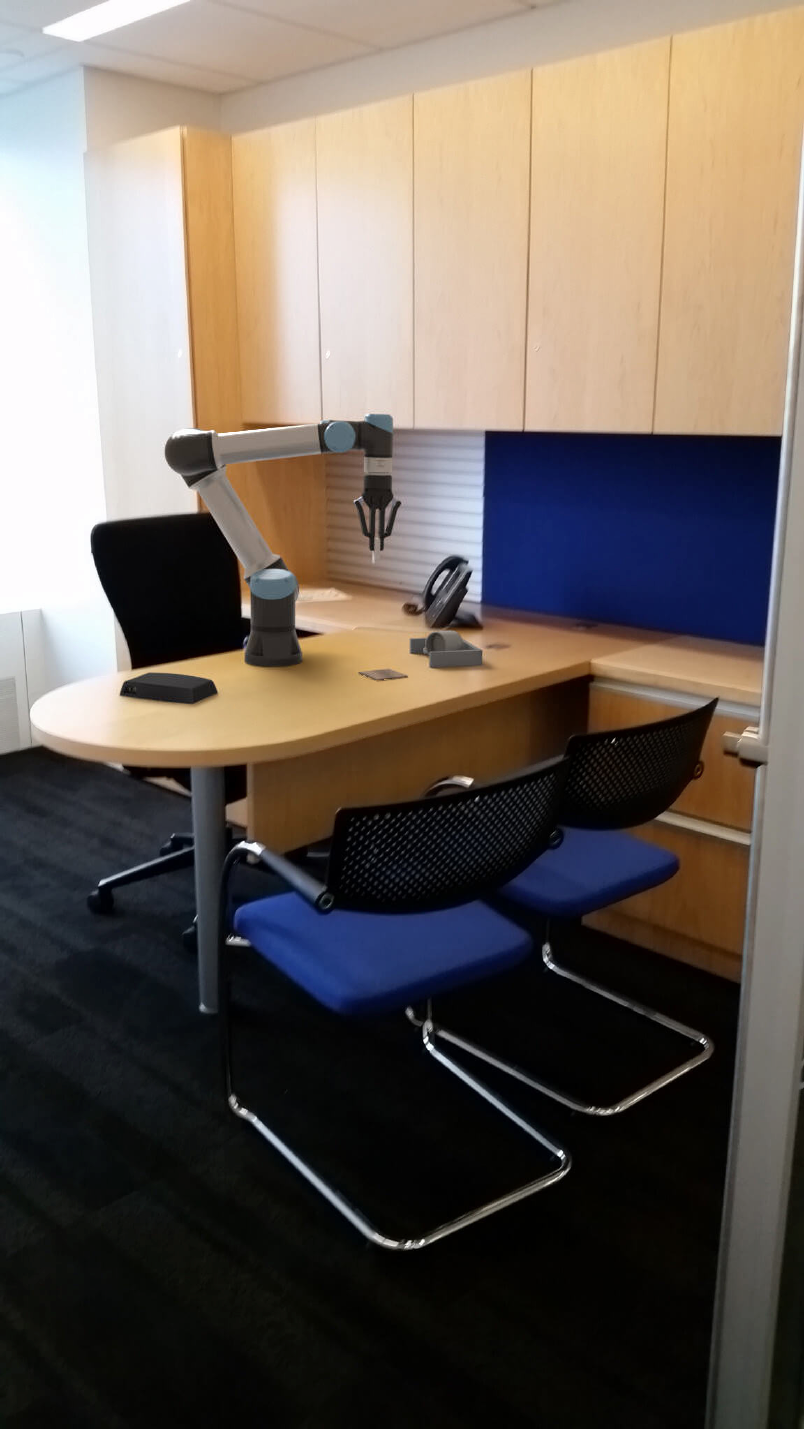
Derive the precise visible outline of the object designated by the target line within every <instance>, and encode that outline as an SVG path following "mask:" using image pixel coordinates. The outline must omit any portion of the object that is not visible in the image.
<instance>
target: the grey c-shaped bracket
mask: <svg viewBox="0 0 804 1429" xmlns="http://www.w3.org/2000/svg"><path fill="white" fill-rule="evenodd" d="M426 639H427V637H411V638H409V653H410V654H424V652H423V648H425V642H426ZM462 640H463V649H462V650H458V651H433V652H429V655H428V658H429V660H428V666H429V667H428V668H451V667H453V668H454V667H476V666H479V667H480V666H483V650H482V649H481V648H479V647H477V646H476V645H474V644H472V643H470V642H469V641H467V640H465V639H463V638H462Z"/></svg>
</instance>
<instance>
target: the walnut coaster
mask: <svg viewBox="0 0 804 1429" xmlns="http://www.w3.org/2000/svg"><path fill="white" fill-rule="evenodd" d="M357 673H360V674H361V675H360V674H359V675H360V676H363V675H365V676H366V678H368V677H370V678H372V679H371V680H373V679H375V680H382V681H385V680H384V679H390V680H395V679H397V678H398V679H404V678H405V677H406V678H408V674H405V673H401V672H399V671H396V670H394V669H391V668H382V669H374V670H366V671H365V670H364V671H358V672H357ZM365 676H364V677H365ZM403 677H404V678H403ZM370 678H369V679H370ZM406 678H405V679H406ZM375 680H374V681H375Z"/></svg>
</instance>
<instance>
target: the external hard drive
mask: <svg viewBox="0 0 804 1429" xmlns="http://www.w3.org/2000/svg"><path fill="white" fill-rule="evenodd" d="M217 694H219V692H218V689H217V686H216V684H215V682H214V680H212V679H211V678H210V679H209V678H206V677H201V676H195V675H189V674H183V673H182V674H181V673H173V672H147V673H144V674H141V675H139V676H136V677H133V678H130V679H128V680H124V681H123V683H122V685H121V688H120V691H119V696H122V697H127V698H133V699H140V700H148V701H154V702H164V703H165V702H166V703H174V704H175V703H176V704H184V705H185V704H186V705H194V704H197V703H198V702H201V701H203V700H206V699H207V698H210V697H212V696H214V695H217Z"/></svg>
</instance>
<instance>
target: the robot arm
mask: <svg viewBox="0 0 804 1429" xmlns="http://www.w3.org/2000/svg"><path fill="white" fill-rule="evenodd" d="M393 445H394V419H393V416H392V415H391V414H387V413H385V414H384V413H367V414H365V416H364V420H360V421H355V420H334V419H329V420H328V419H327V420H320V422H319V423H308V424H302V425H301V424H300V425H292V426H283V427H281V426H280V427H272V428H265V429H264V428H263V429H252V430H245V431H236V432H226V433H225V432H224V433H218V432H217V431H215V430H204V429H201V428H197V427H188V428H185V429H181V430H178V431H176V432H173V434H171V436H169V438H168V439H167V441H166V443H165V446H164V458H165V461H166V462H167V465H168V466H169V468H170V469H171V470H172V471H174V472H175V473H176V474H179V475H180V476H181V478H182V479H183V481H184V482H185V485H186V486H187V487H188V489H189V490H193V491H196V492H198V495H199V496H200V498H201V499H202V501H203V503H204V504H205V506H206V508H207V510H208V511H209V513H210V514H211V516H212V517H213V519H214V521H215V522H216V524H217V526H218V528H219V529H220V531H221V533H222V534H223V537H225V539H226V541H227V543H228V544H229V545H230V547H231V549H232V550H233V552H234V554H235V556H236V557H237V559H238V561H239V562H240V564H241V565H242V568H244V574H243V577H242V578H243V580H244V581H245V583H246V585H247V586H248V587H249V589H250V595H249V596H250V634H249V636H248V641H247V643H246V646H245V649H244V662H245V663H246V664H249V665H253V666H260V667H286V666H287V667H288V666H293V665H297V664H301V662H302V661H303V651H302V648H301V646H300V645H301V644H300V642H299V639H298V636H297V632H296V602H297V601H298V598H299V593H300V586H299V581H298V579H297V577H296V575H295V574H294V573H293V572H292V571H291V570H289V568H288V566H287V565H286V562H285V561H284V560H283V558H282V556H281V555H280V554H279V555H278V554H275V553H273V552H272V550H271V549H270V547H269V545H268V544H267V542H266V540H265V538H264V537H263V536H262V534H261V532H260V531H259V529H258V527H257V525H256V523H255V522H254V521H253V519H252V517H251V515H250V514H249V512H248V510H247V509H246V507H245V505H244V504H243V502H242V500H241V499H240V497H239V495H238V494H237V492H236V490H235V489H234V488H233V485H232V484H231V482H230V480H229V479H228V476H227V475H226V472H227V465H231V464H232V465H233V464H242V463H251V462H259V461H267V460H268V461H269V460H278V459H287V458H295V457H305V456H313V455H314V456H315V455H321V454H324V455H325V454H333V453H337V454H341V453H346V452H348V451H363V454H364V455H363V472H364V475H363V490H362V493H361V496H360V497H359V498H357V499H354V500H353V505H354V506H355V508H356V509H357V510H356V511H357V515H358V519H359V524H360V529H361V534H362V536H364V537H365V538H366V537H367V538H368V549H369V551H371V552H372V557H371V558H372V564H374V565H375V564H380V563H381V552H382V551H384V549H385V548H384V547H385V539H387V538H388V537H391V536H392V531H393V528H394V525H395V520H396V516H397V513H398V510H399V508H400V507H401V505H402V502H401V501H400V500H398V499H396V498H395V497H394V494H393V490H392V489H393V476H392V475H391V474H392V473H393V454H394V453H393V448H394V446H393ZM364 503H365V505H366V506H367V508H368V514H369V515H368V517H369V518H368V519H369V520H368V525H367V522H366V516H365V512H364V508H363V507H364ZM390 503H391V504H390ZM389 504H390V505H391V508H390V512H389V516H388V518H387V519H388V520H387V523H386V520H385V519H386V509H387V507H389ZM377 510H378V512H377ZM377 513H378V525H377V527H378V531H377V532H378V534H377V536H378V537H376V514H377ZM385 523H386V524H385ZM385 526H386V527H385Z"/></svg>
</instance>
